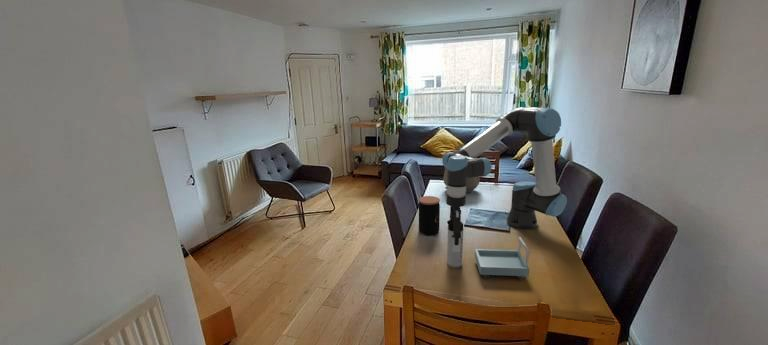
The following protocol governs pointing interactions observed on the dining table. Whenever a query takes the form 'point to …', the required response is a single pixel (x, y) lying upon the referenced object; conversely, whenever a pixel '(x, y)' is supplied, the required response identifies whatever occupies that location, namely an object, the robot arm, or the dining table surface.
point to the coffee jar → (429, 215)
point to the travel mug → (452, 257)
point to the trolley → (503, 262)
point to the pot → (470, 184)
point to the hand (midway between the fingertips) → (454, 243)
